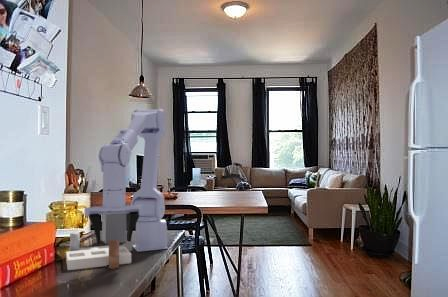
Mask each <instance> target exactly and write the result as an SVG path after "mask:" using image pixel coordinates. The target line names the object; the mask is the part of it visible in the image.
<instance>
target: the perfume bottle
mask: <svg viewBox="0 0 448 297" xmlns="http://www.w3.org/2000/svg"><path fill="white" fill-rule="evenodd" d="M125 205H127V202H126V201H125ZM101 206H103V200H102V202H101ZM107 212H122V211H107ZM102 213H103V212H102ZM101 217H102V219H101V225H102V226H101V228H102V229H101V233H102V234H101V241H102V243H104V244H105V245H109V240H119V244H122V243H127V213H125V214H107V215H101Z"/></svg>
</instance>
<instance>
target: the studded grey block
mask: <svg viewBox="0 0 448 297" xmlns="http://www.w3.org/2000/svg"><path fill="white" fill-rule="evenodd" d="M80 236H81V233H80V232H71V233H70V234H69V248H68V251H79V250H89V249H100V248H109V244H107V245H98V246H88V247H86V246H85V247H80V244H81V243H80V241H81V240H80V238H81V237H80Z"/></svg>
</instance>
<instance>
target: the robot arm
mask: <svg viewBox="0 0 448 297" xmlns="http://www.w3.org/2000/svg"><path fill="white" fill-rule="evenodd" d="M130 115H131V118H130V119H131V121H130V123H128V124H129V125H128V126H127V127H126V128H121V129H120V130H119V132H118V133H117V134H116V135H115V136H114V138H113V139H112V140H111V141H110V143H108V144H107V143H106V144H104V145H103V146H101V147H100V150H99V154H98V162H99V164H100V171H101V173H102V201H103V206H102V205H101V206H91V207H84V213H83V214H84V217H88V219H89V220H90V222H91V225H92V228H93V231H94V236H95V238H96V239H95V240H96V244H97V245H101V241H102V239H101V222H102V219H101V217H100V216H102V215H107V214H125V213H126V242H132V235H133V232H134V230H135V244H132V248H133V249H134V250H135V251H136V252H138V253H139V252H148V251H158V250H168V226H167V221H166V219H163V217H164V216H165V211H166V205H165V195H164V194H163V193H162V192H161V191H159V190H158V189H157V186H158V174H159V173H158V172H159V162H160V161H159V160H160V150H161V139H162V138H163V137H165V136H166V131H167V130H166V129H167V117H166V112H165V111H164V109H162V108H159V109H134V110H133V111H132V113H131V114H130ZM138 137H140V138H142V139H144V147H143V148H144V151H143V160H142V173H141V185H140V189H138V190H137V191H135V192H134V193H133V194H132V198H131V202H130V204H126V205H125V202H126V198H127V197H126V191H127V190H126V189H127V188H126V186H127V185H126V184H127V183H126V182H127V181H126V178H127V176H126V174H127V169H126V168H127V166H128V164H129V163H130V161H131V155H132V151H133V149H134V148H135V147H136V145H137V143H138V141H139V138H138ZM107 211H122V212H107ZM102 212H103V213H102Z"/></svg>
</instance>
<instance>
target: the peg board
mask: <svg viewBox="0 0 448 297" xmlns="http://www.w3.org/2000/svg"><path fill="white" fill-rule="evenodd" d="M65 258H66V259H65V262H66V268H67V271H75V270H81V269H91V268H98V267H108V266H107V265H109V248H100V249H89V250H79V251H69V250H68V251H66V252H65ZM126 264H132V253H131V252H130V251H129V249H128V248H127V247H126V246H125V245H124V246H123V245H121V246H119V265H126Z"/></svg>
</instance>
